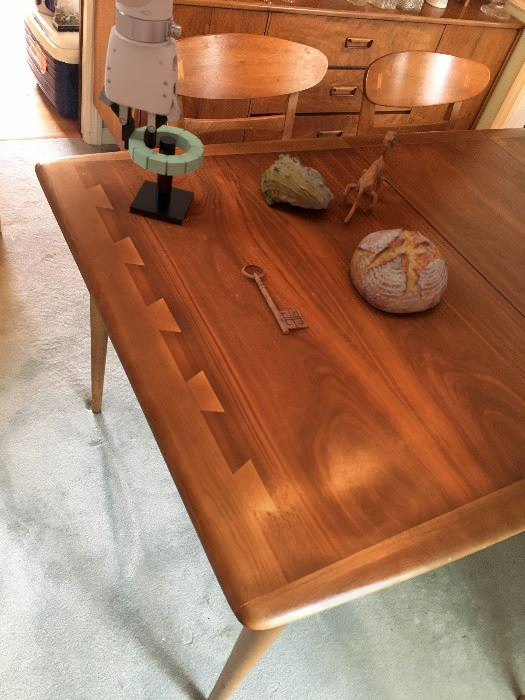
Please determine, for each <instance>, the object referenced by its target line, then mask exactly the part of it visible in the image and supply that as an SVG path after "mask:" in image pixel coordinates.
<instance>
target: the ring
mask: <svg viewBox="0 0 525 700" xmlns="http://www.w3.org/2000/svg"><path fill="white" fill-rule="evenodd" d="M146 128H147V125H145V126H142V127H139V128H135V130H134V132H133V133H132V134H131V136H130V137H129V149H128V154H129V156H130V158H131V160H132V161H133V163H135V164H136V165H138V166H139V167H141V168H142V169H144V170H145V171H147V172H151V173H154V174H157V173H158V174H162V175H165V174H166V173H167V175H173V176H184V175H186V176H187V175H190V174H191V173H194V172H196V171H198V170H199V169H200V168H201V166H202V164H203V161H204V154H205V146H204V144H203V143H202V141H201V139H200V138H199V137H198V136H196V135H195V134H193V133H192V132H190V131H188V130H185V129H184V128H180V127H175V126H172V125H166V124H164V125H163V126H161V127H160V128H158V129H157V136H156V145H159V142H160V137H162V136H171V137H173V138H175V139H176V148H178V149H180V150H181V151H183V153H182V154H175V155H164V154H160V153H159V152H155V151H154V150H153V149H149V148H148V147H146V145H145V143H144V131H145V130H146Z"/></svg>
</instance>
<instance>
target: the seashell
mask: <svg viewBox="0 0 525 700" xmlns="http://www.w3.org/2000/svg"><path fill="white" fill-rule="evenodd" d="M258 176H259V177H260V184H259V187H258V191H261V193H262V197H264V199H265V201H266V203H267V205H268V206H272V205H273V204H275V203H284V204H285V203H289V204H290V205H291V206H293V207H295V206H297V207H299V208H304V209H311V210H317V211H318V210H322V209H325V210H327V207H328V205H330V202H331V201H333V200H334V198H335V196H334V194H333V192H332V191H331V189H330V188H328V187H327V186H326V179H324V177H323V176H322V175H321V173H320V172H319V171H318V170H316V169H314V168H312V167H311V166H303V165H301V160H300V159H299V158H298V157H294V156H293V157H292V158H291V155H290V154H289V153H287V154H286V155H285V154H283V153H281V154H279V155H278V160H274V162H273V163H271V164H270V166H269V167H267V168H263V170H262V173H260V174H259V175H258Z"/></svg>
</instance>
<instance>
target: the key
mask: <svg viewBox="0 0 525 700" xmlns="http://www.w3.org/2000/svg"><path fill="white" fill-rule="evenodd" d="M246 269H255V270H258V271H259V272H260V273H261V274H259V275H258V274H257V273H256V272H253V274H249V273H248V272H246ZM265 273H266V272H265V270H264V268H262V267H260V266H259V265H256V264H247V265H243V267H242V268H241V274H242V275H243V276H245V277H247V278H248V279H254V280H255V282H256V284H257V286H258V288H259V291H260V292H261V294H262V295H263V297H264V299H265V301H266V303H267V304H268V306H269V308H270V310H271V312H272V314H273V316H274V318H275V319H276V321H277V323H278V325H279V327H280V329H281V330H282V332H283V334H284V335H287V334H289V333H290V330H293V329H295V330H296V329H303V328H308V325H307V323H306V321H305V319H304V318H303V316H302V314H301V312H300V311H299V310H298V309H291V310H279V309H278V308H277V306H276V304H275V302H274V301H273V299H272V297H271V295H270V293H269V291H268V290H267V287H266V286H265V284H264V283H263V281H262V278H263V277H264V276H265Z"/></svg>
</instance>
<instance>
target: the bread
mask: <svg viewBox="0 0 525 700" xmlns="http://www.w3.org/2000/svg"><path fill="white" fill-rule="evenodd" d="M359 242H360V243H359V244H358V245H356V249H355V250H354V252H353V254H352V256H351V260H350V264H349V272H350V280H351V282H352V285H353V286H354V288H355V289H356V290H357V293H358V294H359V295H360V296H362V298H364V299H365V300H366V301H367V302H368V303H369V305H371V306H372V307H373V308H375V309H377V310H380V311H383V312H386V313H393V314H410V313H421V312H425V311H427V310H430V309H433V308H435V307H436V306H437V305H439V304H440V303H441V301H442V299H443V296H444V294H445V292H446V290H447V286H448V280H449V279H448V278H449V275H448V274H449V273H448V267H447V266H448V265H447V263H446V260H445V258H444V257H443V255H442V254H441V252H440V249H438V248H437V246H435V244H434V243H433V242H432V241H431V240H430V239H428V238H427V237H425V236H424V235H423V234H421V233H420V231H419V230H411V231H410V230H407V229H405V228H403V227H402V228H394V229H393V228H391V229H383V230H379V231H378V230H377V231H375V232H371V233H369V234H368V235H366V236H365V237H364V238H363V239H361V240H360V241H359Z"/></svg>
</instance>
